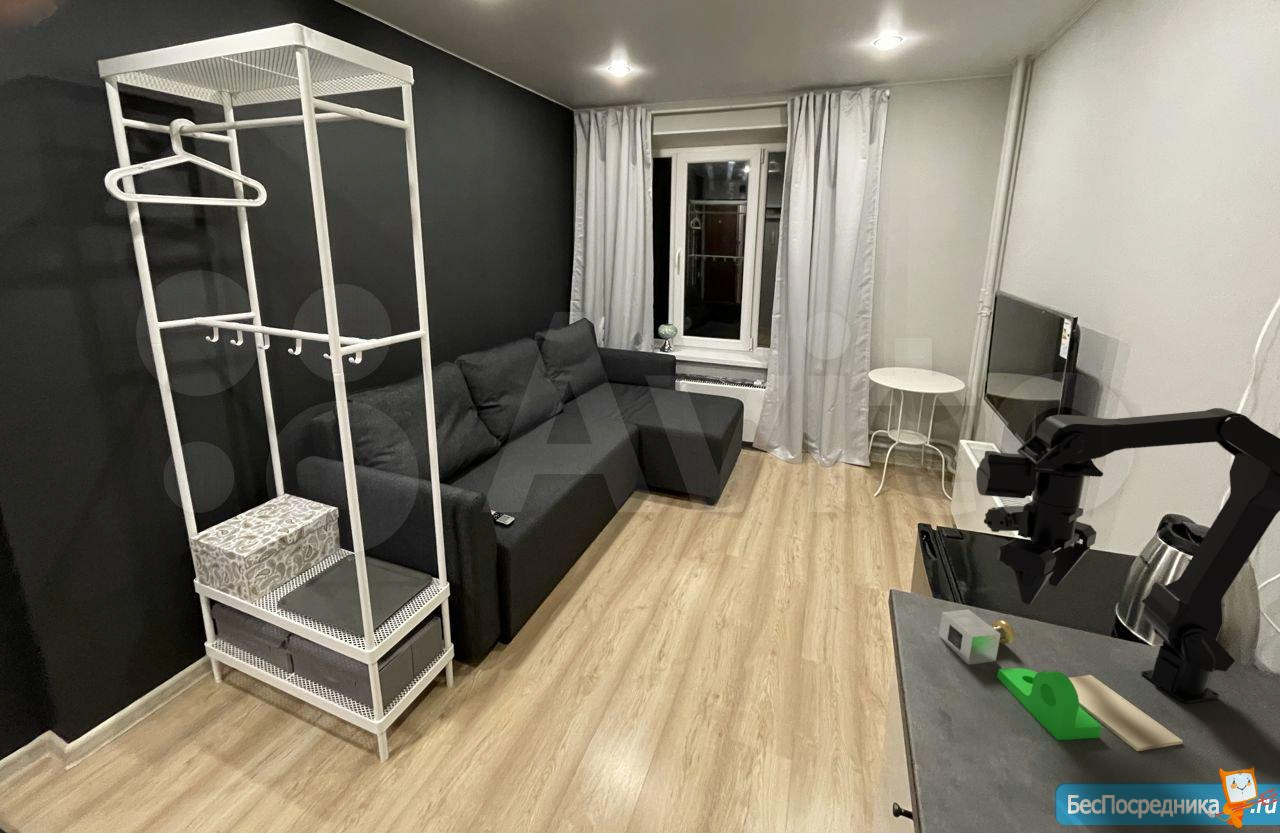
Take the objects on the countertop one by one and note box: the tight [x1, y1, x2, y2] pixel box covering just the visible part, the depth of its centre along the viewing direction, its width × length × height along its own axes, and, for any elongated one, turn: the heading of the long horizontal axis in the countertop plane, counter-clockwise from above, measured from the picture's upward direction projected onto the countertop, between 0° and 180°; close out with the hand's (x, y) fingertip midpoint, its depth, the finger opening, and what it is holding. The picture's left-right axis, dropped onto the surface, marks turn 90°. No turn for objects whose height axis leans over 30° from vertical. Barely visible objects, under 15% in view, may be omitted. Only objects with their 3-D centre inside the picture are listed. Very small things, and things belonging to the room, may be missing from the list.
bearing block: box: [938, 609, 1000, 665], centre depth 94 cm, size 5×7×6 cm
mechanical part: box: [997, 667, 1103, 741], centre depth 82 cm, size 12×6×8 cm, turn 4°
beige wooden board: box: [1068, 674, 1184, 752], centre depth 82 cm, size 7×13×1 cm, turn 10°
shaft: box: [990, 619, 1016, 645], centre depth 95 cm, size 7×4×4 cm, turn 100°
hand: (1039, 593), depth 89 cm, fingers open, 9 cm apart
